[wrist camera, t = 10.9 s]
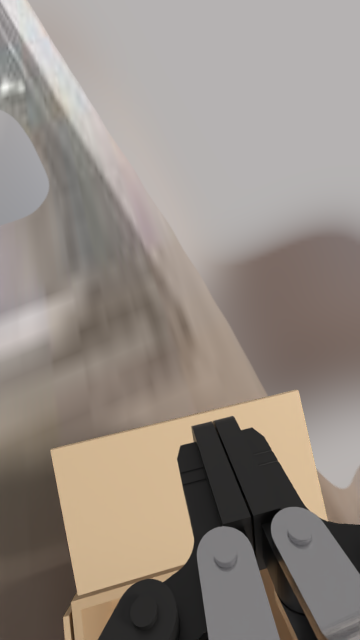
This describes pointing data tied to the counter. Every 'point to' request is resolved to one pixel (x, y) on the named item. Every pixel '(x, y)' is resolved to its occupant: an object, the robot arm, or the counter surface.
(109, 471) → the flap
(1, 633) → the counter surface
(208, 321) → the counter surface
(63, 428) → the counter surface
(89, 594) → the carton
